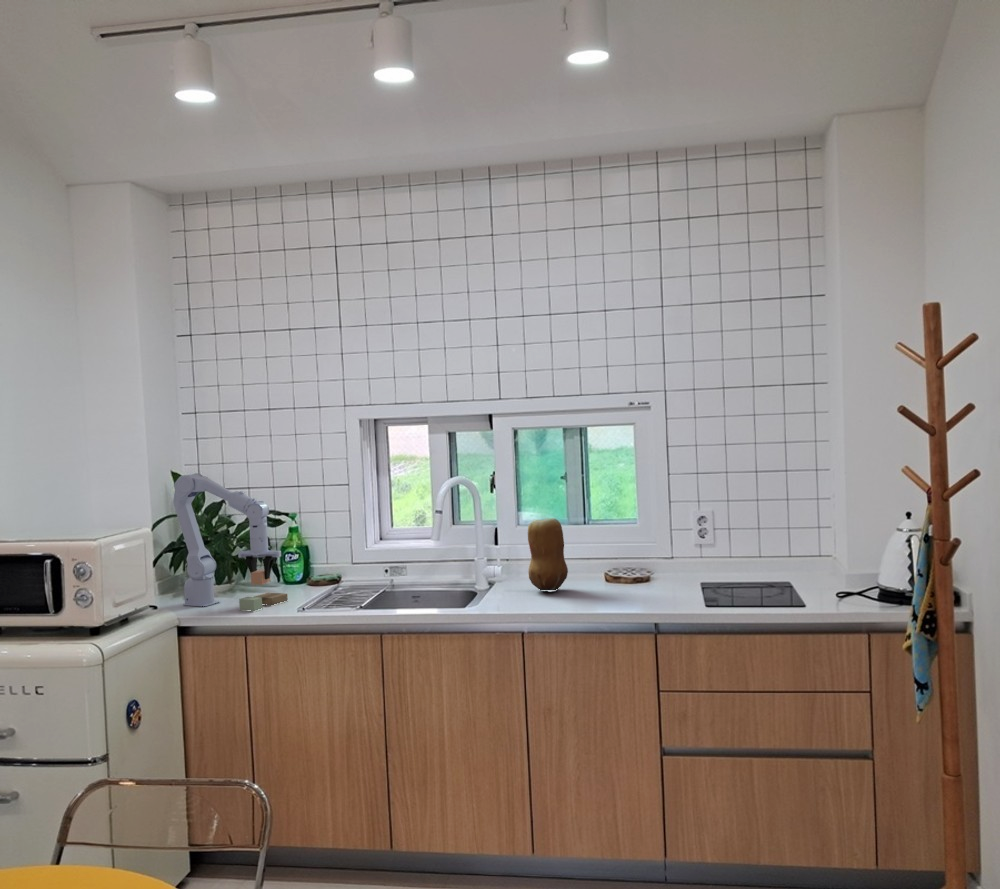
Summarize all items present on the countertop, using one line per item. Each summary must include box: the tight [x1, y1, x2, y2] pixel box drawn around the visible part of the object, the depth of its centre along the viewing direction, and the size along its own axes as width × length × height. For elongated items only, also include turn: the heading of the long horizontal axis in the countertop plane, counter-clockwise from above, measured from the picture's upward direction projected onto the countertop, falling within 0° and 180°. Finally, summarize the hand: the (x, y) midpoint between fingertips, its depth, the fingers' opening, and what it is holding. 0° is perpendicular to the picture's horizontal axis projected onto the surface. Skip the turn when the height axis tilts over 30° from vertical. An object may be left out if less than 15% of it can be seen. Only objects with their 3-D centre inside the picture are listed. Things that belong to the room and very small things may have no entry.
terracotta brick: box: [250, 569, 271, 586], centre depth 319 cm, size 6×4×4 cm, turn 168°
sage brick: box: [238, 596, 263, 611], centre depth 310 cm, size 6×4×4 cm, turn 64°
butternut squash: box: [527, 518, 569, 591], centre depth 322 cm, size 14×13×25 cm
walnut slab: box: [253, 592, 288, 606], centre depth 321 cm, size 8×8×3 cm
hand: (260, 578), depth 319 cm, fingers closed on terracotta brick, 4 cm apart
